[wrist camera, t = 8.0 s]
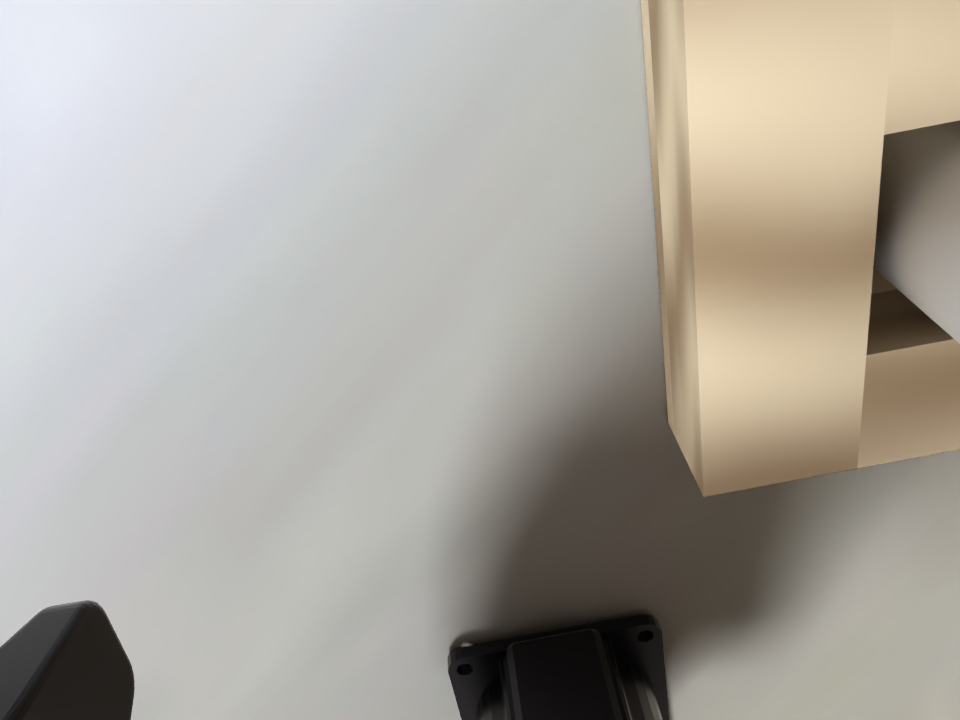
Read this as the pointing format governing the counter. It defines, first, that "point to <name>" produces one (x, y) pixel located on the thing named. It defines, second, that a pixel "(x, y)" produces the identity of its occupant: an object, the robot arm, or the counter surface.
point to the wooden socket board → (793, 233)
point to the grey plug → (922, 220)
